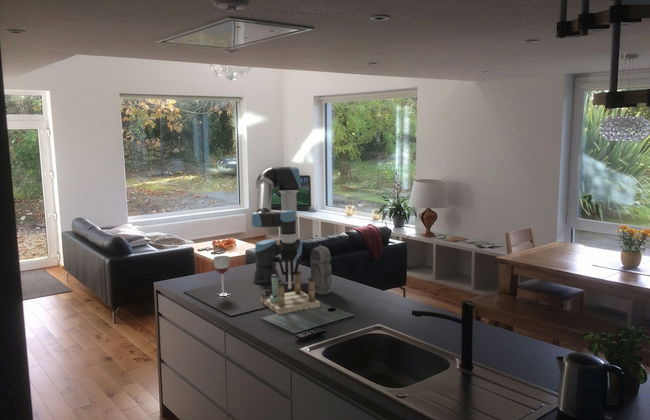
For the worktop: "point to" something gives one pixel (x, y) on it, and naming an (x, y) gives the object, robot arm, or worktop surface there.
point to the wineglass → (221, 268)
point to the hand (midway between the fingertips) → (289, 287)
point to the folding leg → (274, 288)
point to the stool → (292, 297)
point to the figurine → (321, 269)
